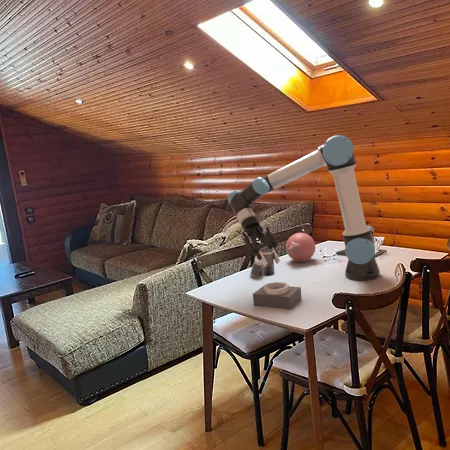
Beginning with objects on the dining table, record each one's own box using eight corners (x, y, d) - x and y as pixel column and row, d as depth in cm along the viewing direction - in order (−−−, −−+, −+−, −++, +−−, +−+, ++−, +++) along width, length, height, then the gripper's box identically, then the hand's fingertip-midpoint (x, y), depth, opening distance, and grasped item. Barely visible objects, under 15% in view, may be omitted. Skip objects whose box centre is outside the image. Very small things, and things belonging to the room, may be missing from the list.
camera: (248, 275, 219) (255, 256, 216) (251, 265, 234) (257, 247, 231) (266, 282, 218) (273, 263, 216) (267, 271, 234) (274, 253, 231)
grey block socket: (301, 298, 184) (300, 282, 182) (290, 309, 174) (288, 292, 172) (266, 295, 192) (265, 279, 191) (253, 305, 182) (252, 289, 181)
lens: (276, 272, 190) (275, 247, 188) (271, 276, 185) (269, 250, 183) (265, 271, 193) (263, 246, 191) (259, 275, 188) (257, 250, 186)
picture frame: (336, 255, 244) (370, 260, 228) (335, 252, 244) (370, 256, 228) (352, 248, 254) (386, 253, 238) (352, 245, 254) (386, 249, 238)
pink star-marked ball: (276, 265, 235) (274, 237, 232) (297, 256, 249) (294, 229, 247) (302, 268, 225) (299, 239, 222) (321, 258, 239) (319, 230, 237)
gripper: (263, 222, 203) (287, 263, 192) (227, 229, 195) (250, 273, 184) (268, 211, 198) (293, 253, 186) (232, 219, 190) (255, 263, 178)
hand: (272, 263), depth 185 cm, fingers closed on lens, 5 cm apart
